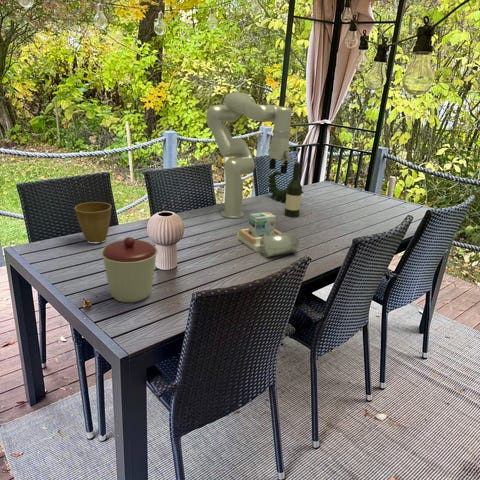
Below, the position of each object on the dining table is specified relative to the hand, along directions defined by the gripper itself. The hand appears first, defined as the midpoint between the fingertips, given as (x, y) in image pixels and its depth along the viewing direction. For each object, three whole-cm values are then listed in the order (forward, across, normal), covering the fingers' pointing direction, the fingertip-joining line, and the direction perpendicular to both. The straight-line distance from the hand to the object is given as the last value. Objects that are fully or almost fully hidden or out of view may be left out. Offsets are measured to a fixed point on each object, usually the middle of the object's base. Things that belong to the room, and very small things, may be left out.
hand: (277, 171), depth 202 cm
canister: (+30, +38, -82) cm, 95 cm away
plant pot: (+31, -14, -83) cm, 90 cm away
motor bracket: (+30, +17, -14) cm, 37 cm away
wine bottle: (+31, -17, +24) cm, 42 cm away
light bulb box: (+28, +12, -14) cm, 33 cm away
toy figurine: (+31, -42, +36) cm, 63 cm away
